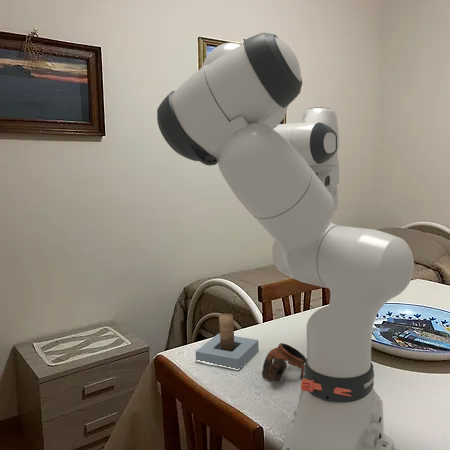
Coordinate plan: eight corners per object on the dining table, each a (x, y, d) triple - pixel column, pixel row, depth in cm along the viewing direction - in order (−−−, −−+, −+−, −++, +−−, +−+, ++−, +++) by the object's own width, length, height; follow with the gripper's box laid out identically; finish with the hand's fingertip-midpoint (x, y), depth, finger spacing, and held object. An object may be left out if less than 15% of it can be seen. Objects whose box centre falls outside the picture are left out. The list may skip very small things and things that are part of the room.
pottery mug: (264, 366, 113) (280, 337, 112) (297, 388, 109) (314, 359, 109) (250, 377, 101) (267, 345, 101) (286, 402, 98) (305, 369, 97)
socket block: (238, 371, 110) (238, 359, 109) (196, 362, 115) (195, 351, 115) (258, 350, 120) (258, 340, 120) (218, 343, 126) (218, 333, 125)
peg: (231, 360, 115) (229, 319, 113) (218, 358, 117) (216, 317, 115) (237, 354, 118) (235, 314, 117) (225, 352, 120) (223, 312, 118)
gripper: (319, 174, 120) (320, 226, 122) (294, 181, 102) (295, 241, 105) (343, 174, 117) (344, 227, 119) (321, 180, 99) (322, 242, 102)
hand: (321, 233), depth 112 cm, fingers open, 8 cm apart
